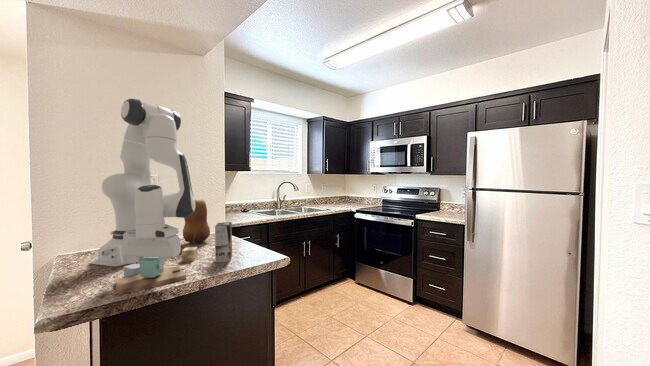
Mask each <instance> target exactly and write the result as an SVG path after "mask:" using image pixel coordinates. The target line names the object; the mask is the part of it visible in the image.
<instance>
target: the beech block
mask: <svg viewBox="0 0 650 366" xmlns="http://www.w3.org/2000/svg"><path fill="white" fill-rule="evenodd" d="M198 251H199V250H198V246H189V247H184V248H183V249H182V250H181V257H182V258H181V260H182V262H183V263H184V262H195V261H196V260H197V259H198V256H199V255H198Z"/></svg>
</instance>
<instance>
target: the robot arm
mask: <svg viewBox="0 0 650 366" xmlns="http://www.w3.org/2000/svg"><path fill="white" fill-rule="evenodd" d="M120 115H121V119H122V120H123V121H124V122H125V123H127V124H128V125H127V127H126V130H125V132H124V135H123V136H124V137H123V141H122V145H121V149H120V150H121V151H120V156H119V157H120V160H121V161H122V164H123V169H124V172H123V173H122V172H120V173H115V174H111V175H109V176H107V177H106V178H105V179H104V180H103V181H102V183H101V190H102V192H103V193H102V194H104V195H105V196H106V197H107V198H108V199H109V200H110V202H111V205H112V208H113V210H114V217H115V230H113V231H110V232H109V233H110V235H112V238H111V239H110V240H108V241H107V242H106V243H105V244H103V245H102V246H100V247H99V248H98V251H97V257H95V258H94V259H91V260H90V264H92V265H98V266H107V267H113V268H114V267H115V268H116V267H120V266H126V265H131V264H140V260H142V259H144V258H146V257H159V260H161V261H160V263H159V264H157V269H162V268H163V269H164V267H165V266H164V263H165V261H166V260H167V258H176V257H178V256H179V255H180V254H181V253H182V250H181V239H180V237H179V235H178V234H179V228H177V227H175V226H172V225H170V224H168V223H165V222H166V220H165V218H181V219H182V218H183V219H184V218H187V217H188V216H190V215H191V214H192V213H193V212H194V211H195V200H194V199H195V197H194V193H193V189H192V182H191V176H190V172H189V170H190V169H189V166H188V161H187V158H186V156H185V154H184V153H181V152H180V149H179V148H178V135H177V134H178V132H177V131H179V129H180V127H181V124H182V118H181V116H180V114H179V113H178V112H176V111H175V110H173V109H170V108H166V107H164V106H162V105H159V104H155V103H151V102H146V101H142V100H141V99H137V98H128V99H126V100H125V101H124V102H123V104H122V106H121V108H120ZM151 160H152V161H154V162H156V163H159V164H161V165H164V166H167V167H170V168H172V169H174V170H175V172H176V176H177V181H178V188H179V191H178V192H163V188H162V187H161V186H160V185H156V184H154V183H155V182H154V180H153V179H152V176H151V175H152V174H151Z"/></svg>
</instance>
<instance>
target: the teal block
mask: <svg viewBox="0 0 650 366" xmlns="http://www.w3.org/2000/svg"><path fill="white" fill-rule="evenodd" d="M160 261H161V260H159V257H146V258H144V259H142V260H140V277H156V276H157V275H159V274H161V273H163V269H164V267H163V268H162V269H157V264H159V263H160Z"/></svg>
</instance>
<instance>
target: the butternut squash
mask: <svg viewBox="0 0 650 366" xmlns="http://www.w3.org/2000/svg"><path fill="white" fill-rule="evenodd" d="M194 200H195V211H194V212H193V213H192V214H191V215H190V216H188V217H187V218H183V219H184V225H183V229H182V238H183V239H184V241H186V242H188V243H189V244H193V245H200V244H202V243H204V242H205V241H206V240H207V239H208V238H209V237H210V235H211V230H210V226H209V223H208V218H207V217H208V208H207V203H206V201H205V200H204V199H203V198H194Z"/></svg>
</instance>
